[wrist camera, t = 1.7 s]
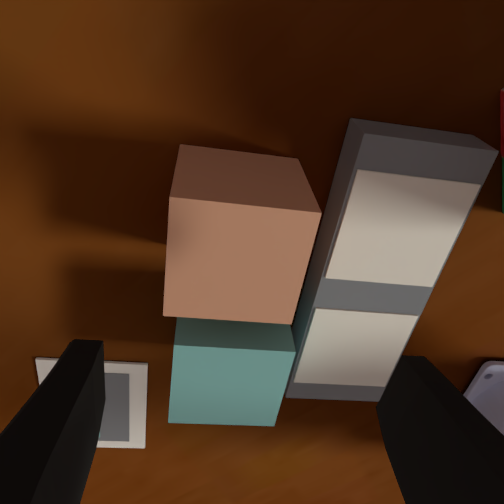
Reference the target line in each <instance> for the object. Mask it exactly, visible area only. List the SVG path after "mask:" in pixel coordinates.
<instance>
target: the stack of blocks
mask: <svg viewBox="0 0 504 504" xmlns="http://www.w3.org/2000/svg"><path fill="white" fill-rule="evenodd" d="M500 131H501V156H502V213H503V214H504V88H503V89H501V91H500Z"/></svg>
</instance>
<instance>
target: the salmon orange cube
mask: <svg viewBox="0 0 504 504" xmlns="http://www.w3.org/2000/svg"><path fill="white" fill-rule="evenodd" d="M321 214H322V212H321V210H320V208H319V205H318V203H317V201H316V199H315V196H314V194H313V192H312V189H311V187H310V185H309V183H308V180H307V178H306V176H305V173H304V171H303V169H302V167H301V164H300V162H299V160H298V159H297V158H289V157H281V156H273V155H265V154H256V153H248V152H240V151H232V150H224V149H216V148H208V147H200V146H192V145H184V144H180V147H179V152H178V157H177V162H176V167H175V172H174V177H173V182H172V187H171V192H170V197H169V215H168V233H167V251H166V269H165V287H164V305H163V316H172V317H187V318H202V319H217V320H232V321H247V322H262V323H277V324H292V321H293V317H294V314H295V310H296V306H297V302H298V299H299V295H300V291H301V288H302V284H303V280H304V277H305V273H306V269H307V266H308V262H309V258H310V255H311V251H312V247H313V244H314V240H315V236H316V233H317V229H318V225H319V222H320V218H321Z"/></svg>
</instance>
